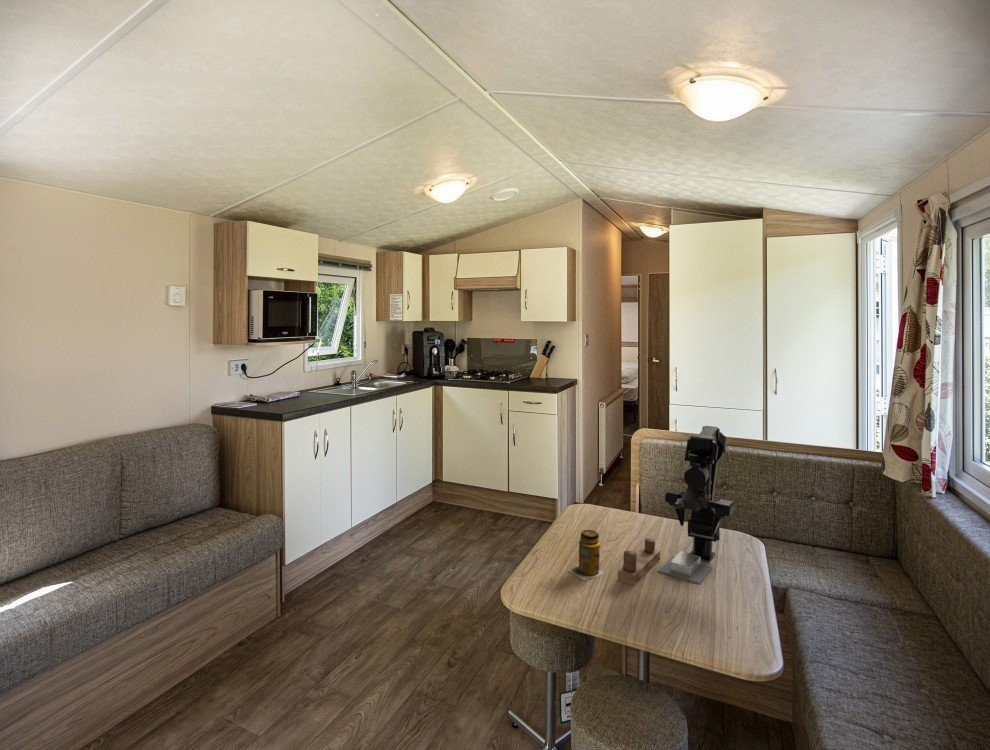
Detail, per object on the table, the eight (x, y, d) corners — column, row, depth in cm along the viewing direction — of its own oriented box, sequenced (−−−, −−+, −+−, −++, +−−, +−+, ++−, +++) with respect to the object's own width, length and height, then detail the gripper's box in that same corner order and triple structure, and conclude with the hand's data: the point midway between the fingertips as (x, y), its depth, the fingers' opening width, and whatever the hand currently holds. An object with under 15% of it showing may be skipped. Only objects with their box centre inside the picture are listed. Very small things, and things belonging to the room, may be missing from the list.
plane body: (644, 555, 168) (645, 531, 167) (660, 559, 165) (660, 535, 164) (617, 580, 153) (618, 553, 152) (634, 585, 150) (634, 558, 149)
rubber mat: (672, 557, 167) (672, 555, 167) (712, 568, 160) (712, 567, 160) (658, 572, 158) (658, 570, 157) (699, 584, 150) (699, 582, 150)
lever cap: (680, 560, 164) (680, 551, 164) (700, 565, 160) (700, 556, 160) (670, 571, 157) (670, 561, 156) (690, 577, 153) (691, 567, 153)
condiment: (605, 573, 157) (606, 534, 156) (584, 581, 152) (585, 541, 151) (588, 563, 163) (589, 526, 162) (567, 570, 158) (568, 532, 157)
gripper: (658, 478, 154) (656, 530, 156) (725, 492, 142) (722, 548, 144) (672, 469, 163) (670, 518, 165) (737, 482, 151) (734, 535, 153)
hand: (697, 529), depth 156 cm, fingers open, 9 cm apart
